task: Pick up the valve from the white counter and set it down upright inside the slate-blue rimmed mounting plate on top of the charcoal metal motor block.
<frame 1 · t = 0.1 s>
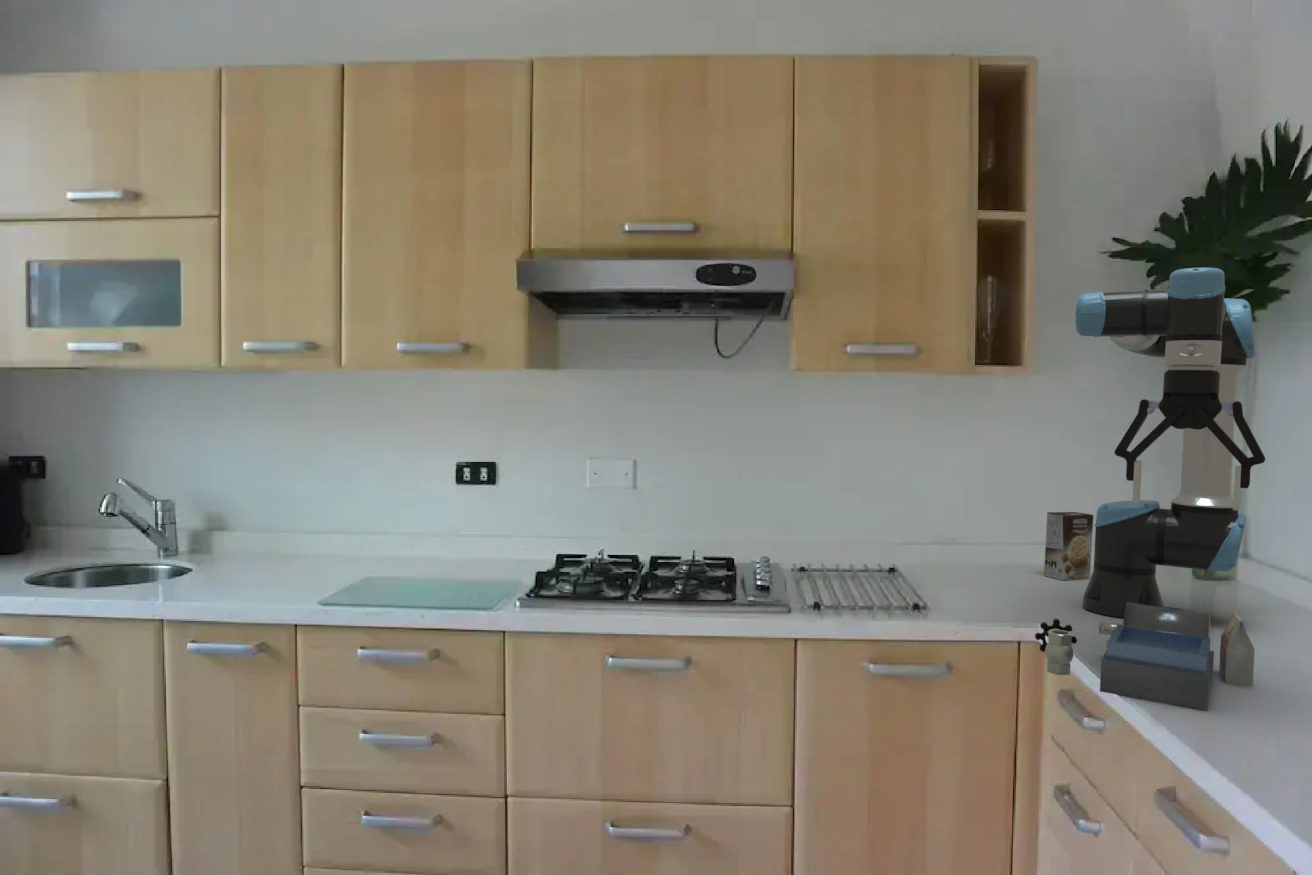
hand: (1184, 505, 144), 28 cm above the worktop, fingers open, 13 cm apart
valve: (1056, 666, 153), on the worktop
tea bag: (1235, 679, 148), on the worktop
coffee box: (1066, 578, 229), on the worktop
motor: (1157, 686, 143), on the worktop
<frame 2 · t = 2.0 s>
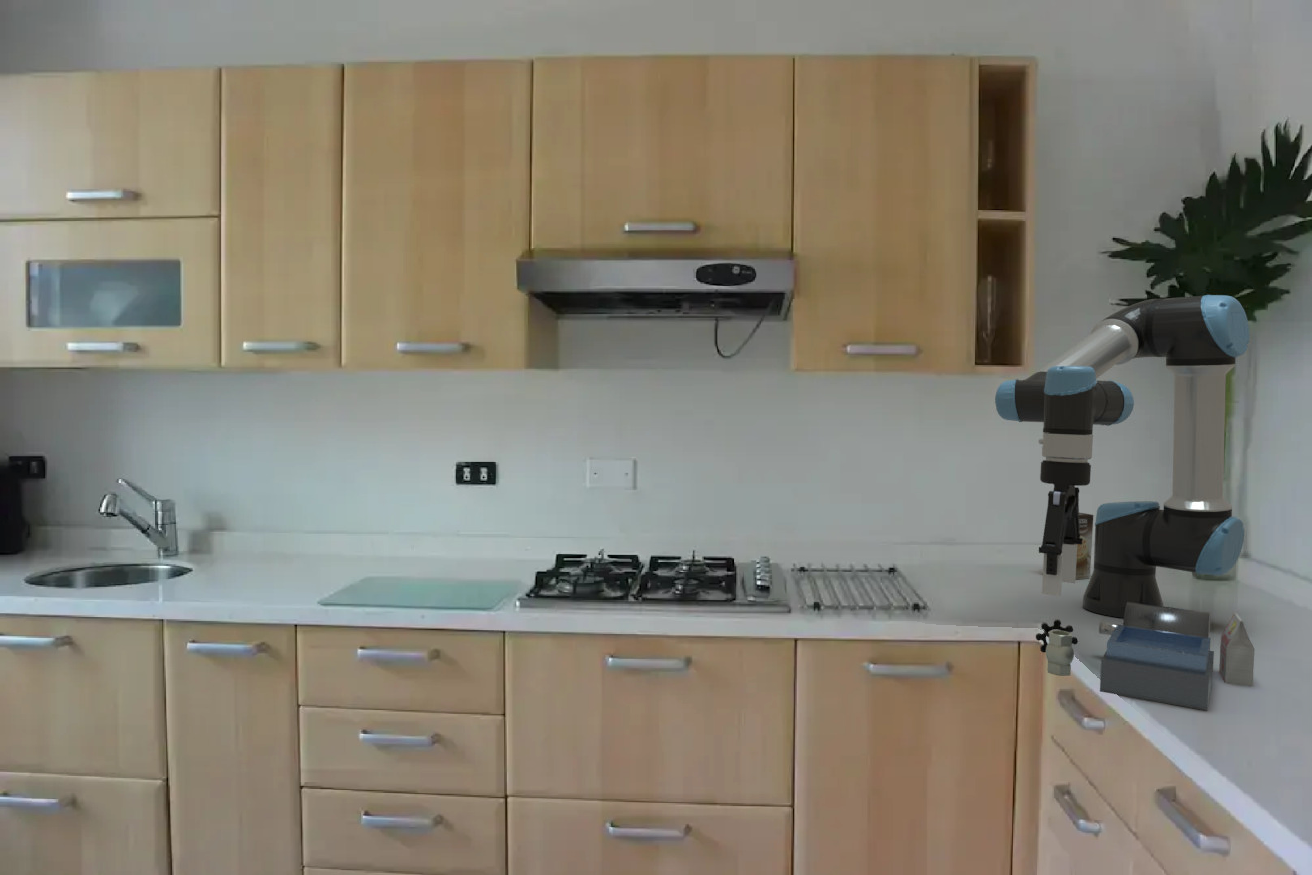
hand: (1059, 588, 152), 13 cm above the worktop, fingers open, 13 cm apart
nothing on the worktop moved.
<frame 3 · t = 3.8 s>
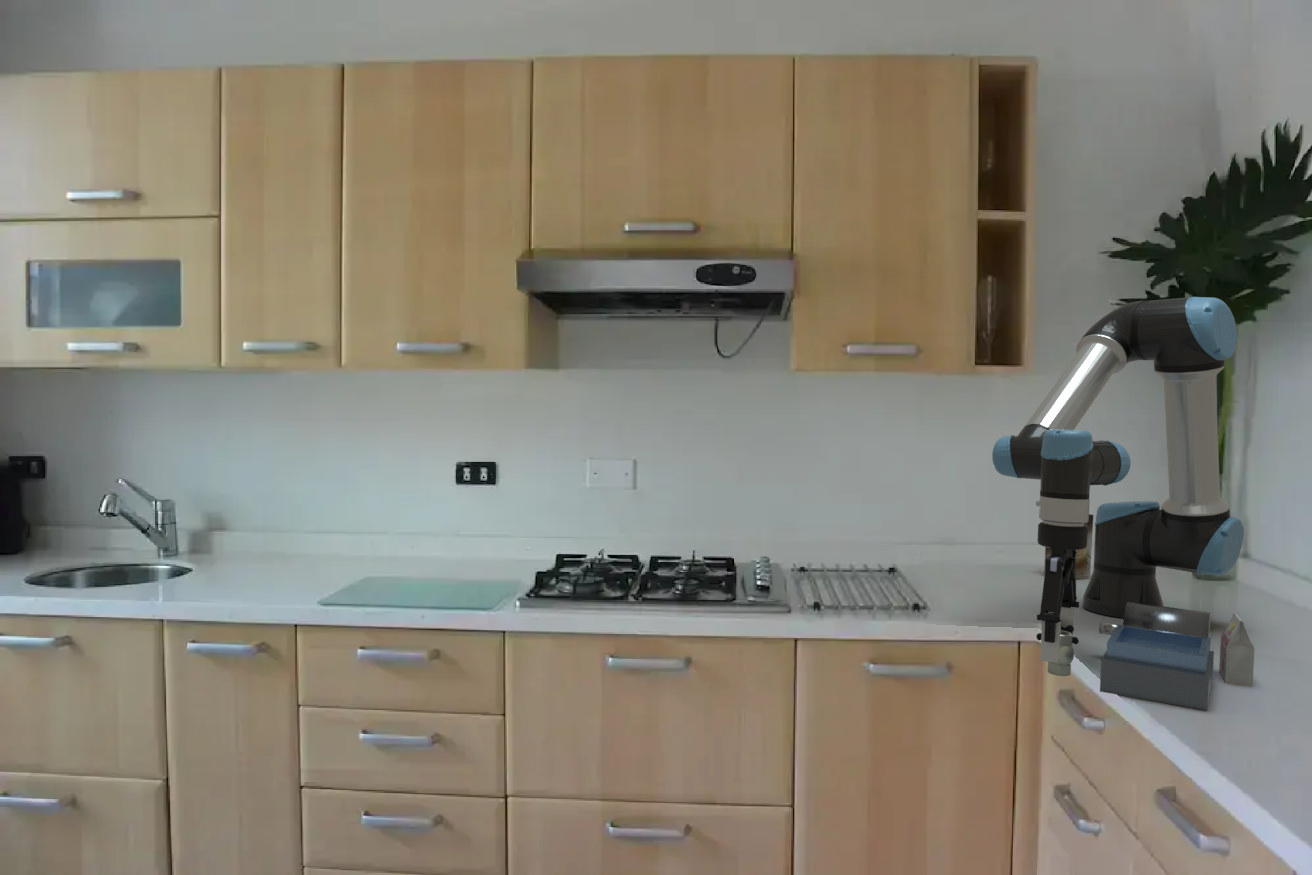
hand: (1056, 653, 153), 2 cm above the worktop, fingers closed on valve, 12 cm apart
valve: (1057, 667, 152), on the worktop, touching gripper
everything else where it was.
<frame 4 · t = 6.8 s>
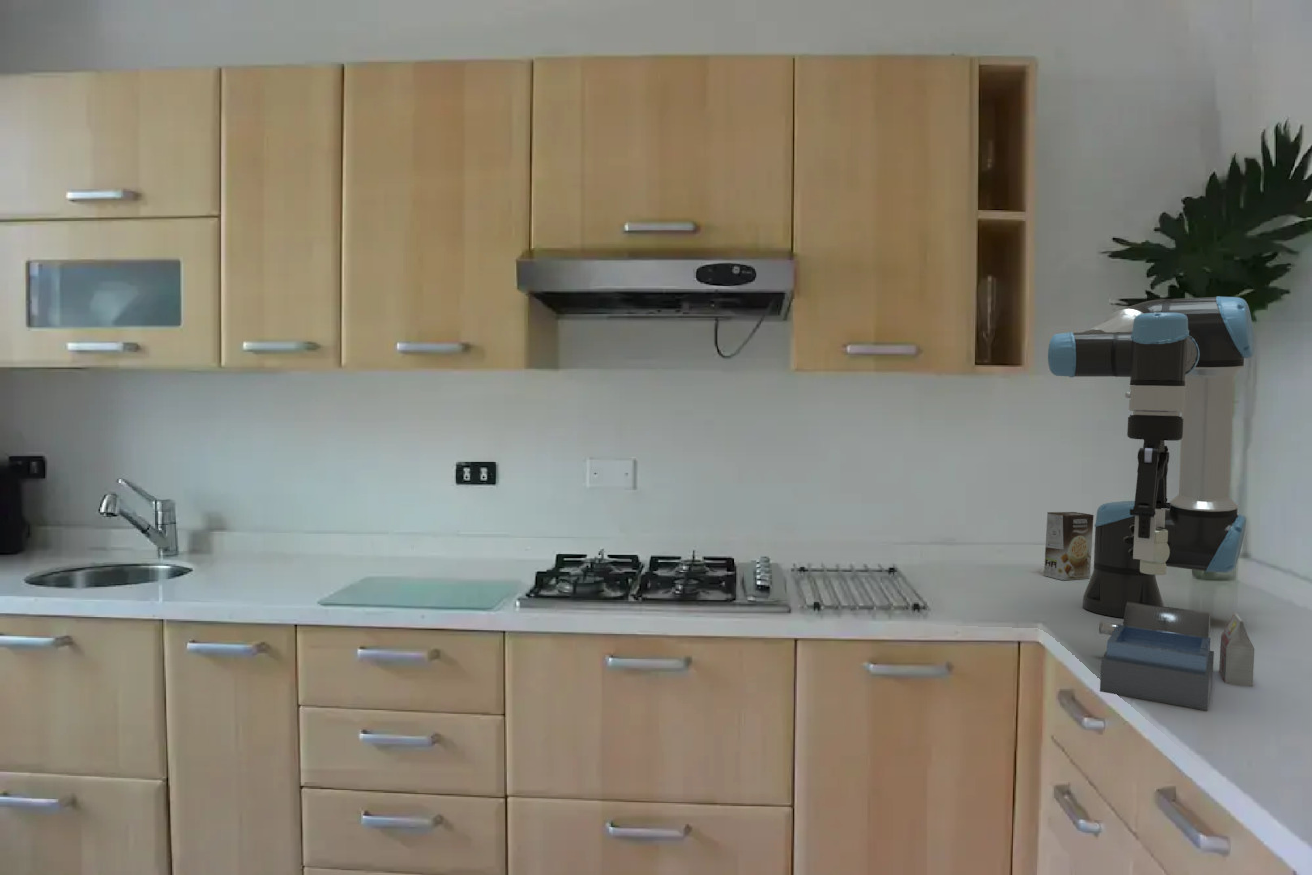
hand: (1148, 554, 143), 20 cm above the worktop, fingers closed on valve, 12 cm apart
valve: (1149, 569, 142), point 18 cm above the worktop, touching gripper
everything else where it was.
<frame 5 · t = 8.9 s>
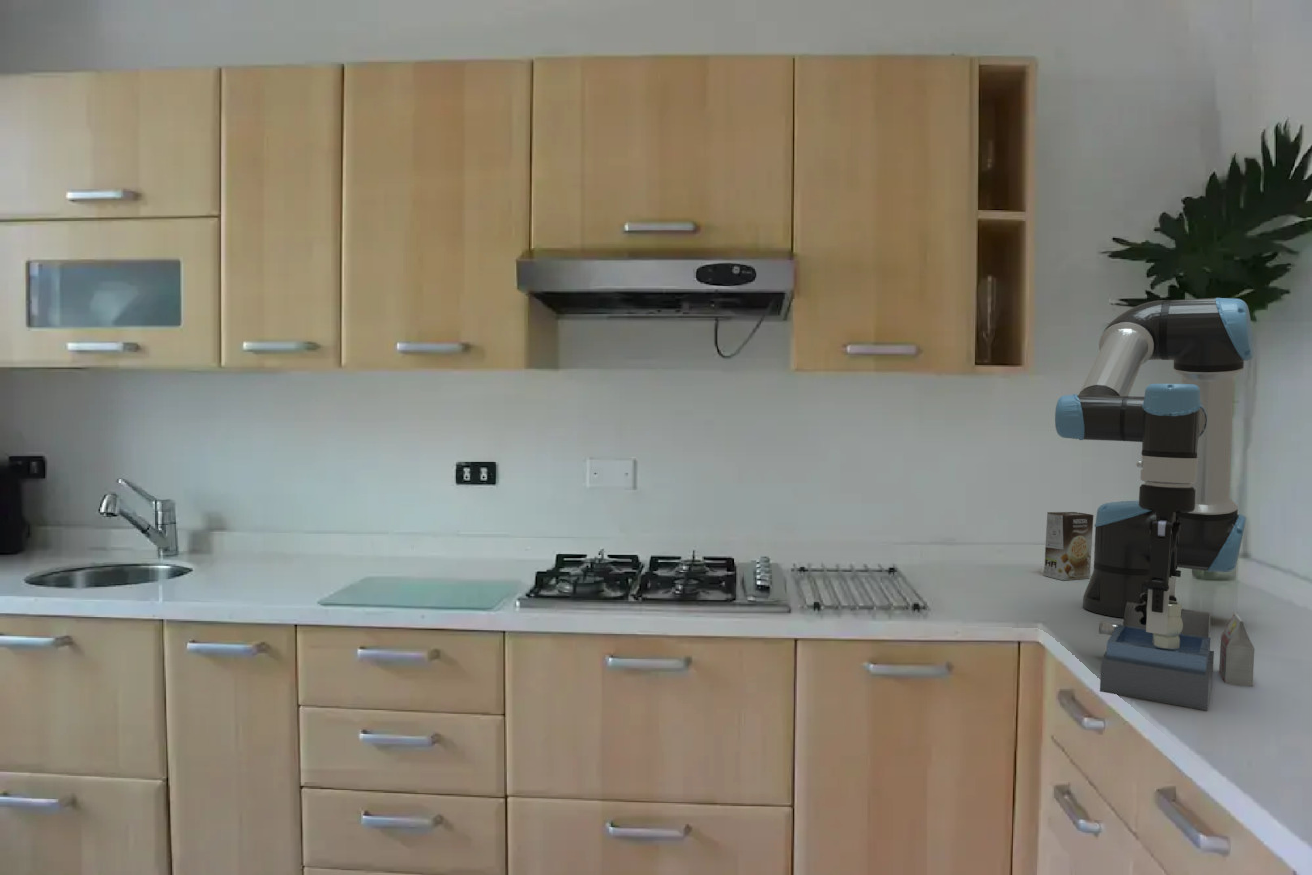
hand: (1160, 624, 142), 10 cm above the worktop, fingers closed on valve, 12 cm apart
valve: (1161, 640, 142), point 7 cm above the worktop, touching gripper
everything else where it was.
when the fingers open (9 cm above the worktop, at t = 10.2 s): valve stays where it is, resting on motor.
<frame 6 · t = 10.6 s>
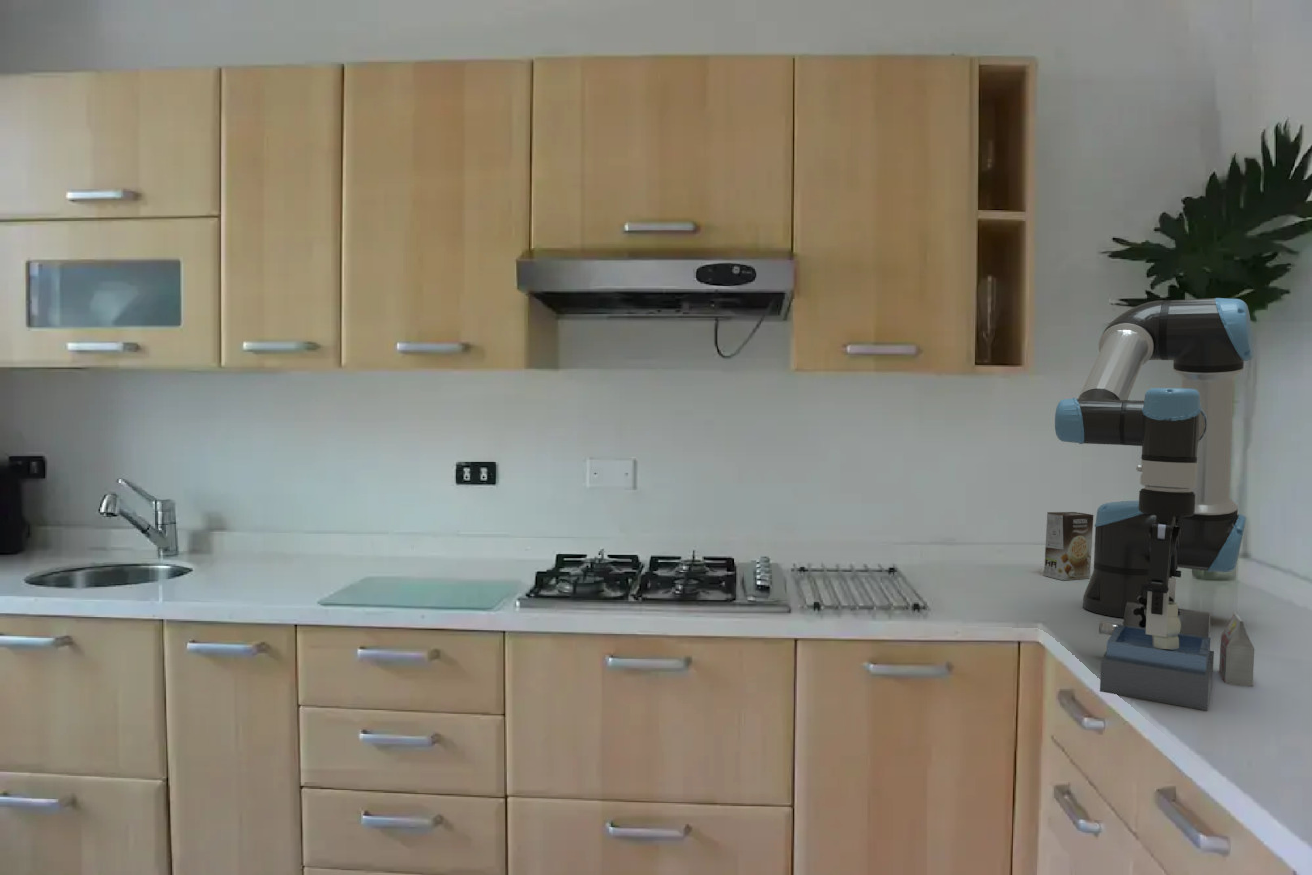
hand: (1160, 626, 142), 10 cm above the worktop, fingers open, 13 cm apart
valve: (1161, 642, 142), point 7 cm above the worktop, touching motor
everything else where it was.
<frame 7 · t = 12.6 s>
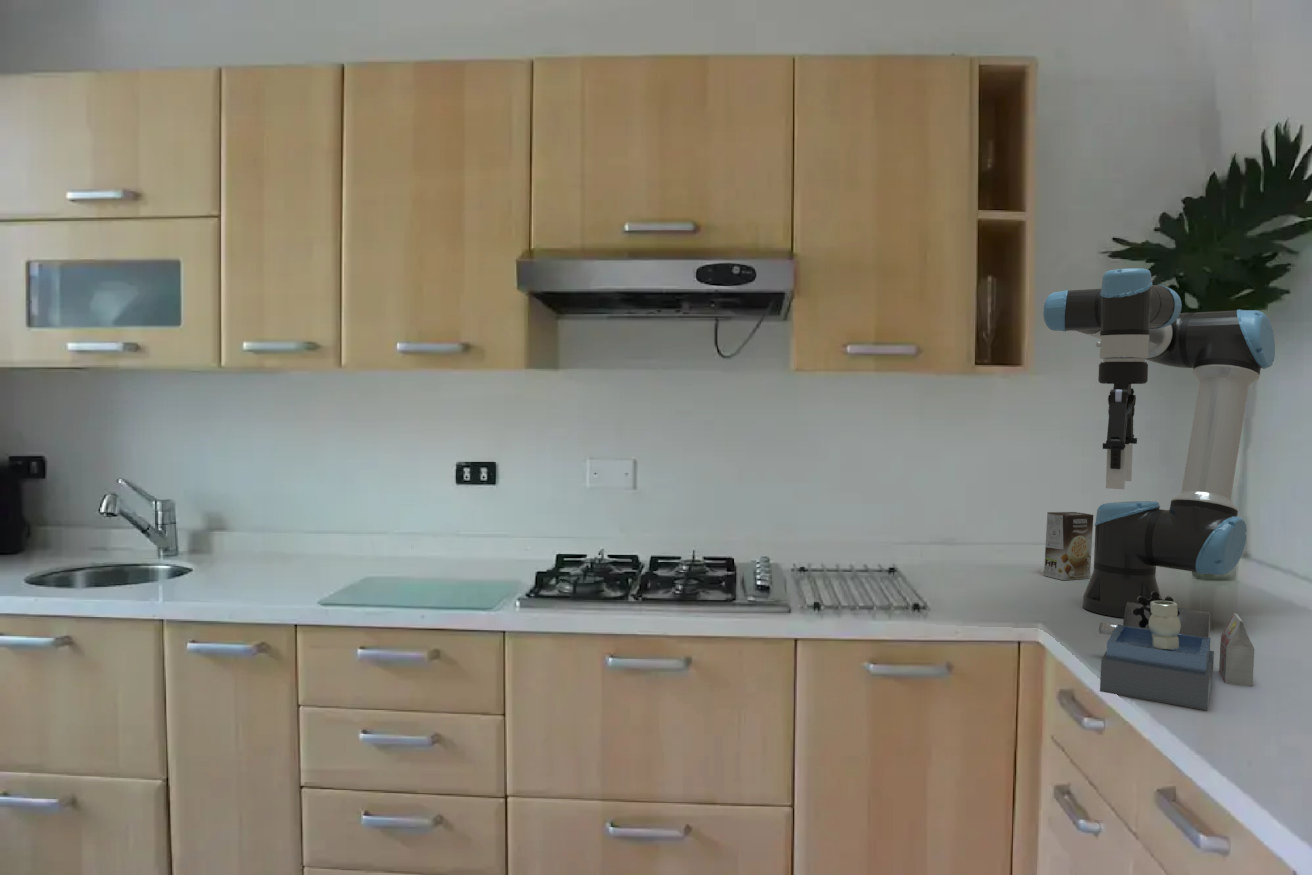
hand: (1119, 484, 159), 30 cm above the worktop, fingers open, 13 cm apart
nothing on the worktop moved.
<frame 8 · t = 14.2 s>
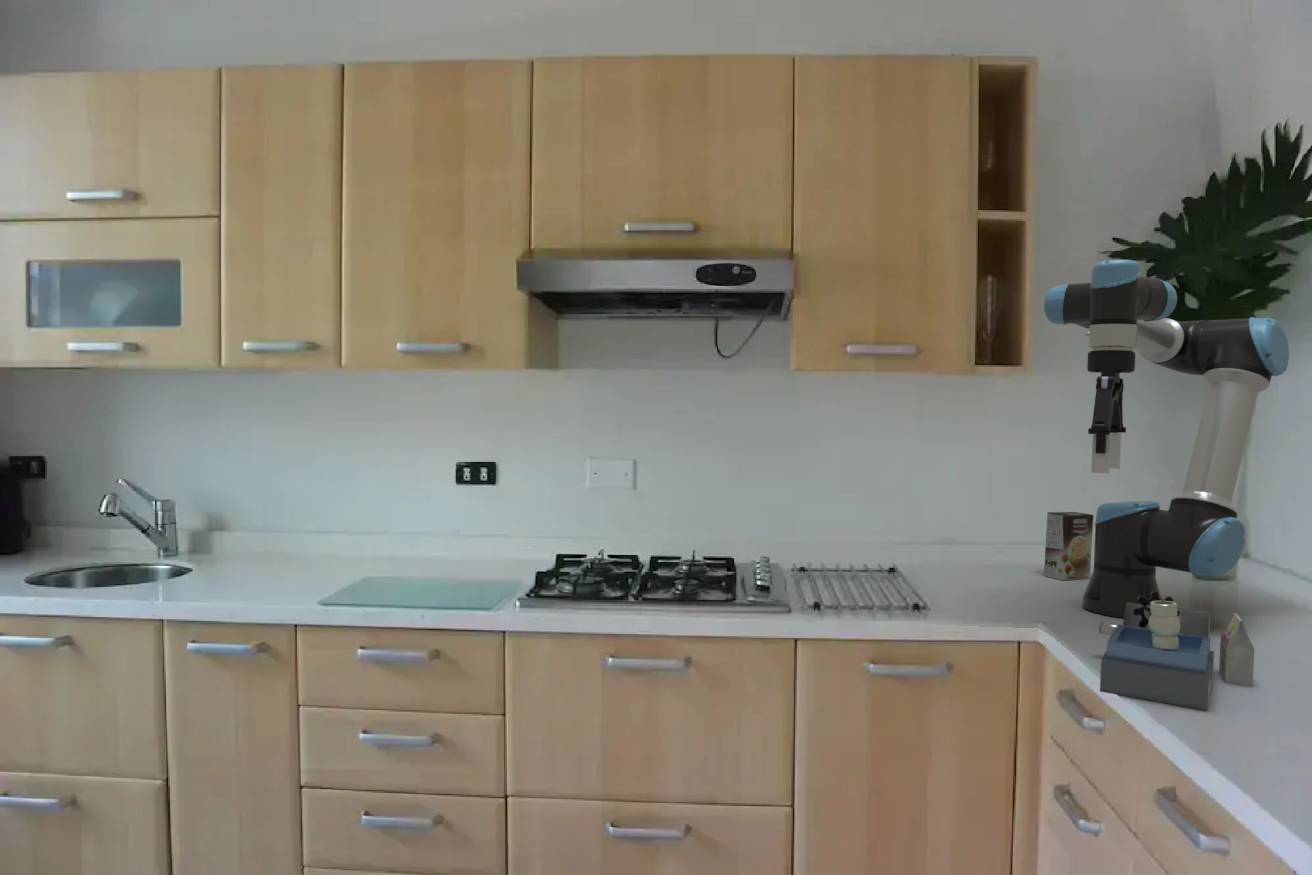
hand: (1105, 470, 163), 32 cm above the worktop, fingers open, 13 cm apart
nothing on the worktop moved.
at the end: valve 0.7 cm off-centre on the motor, point 7.2 cm above the motor's base; the gripper is holding nothing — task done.
